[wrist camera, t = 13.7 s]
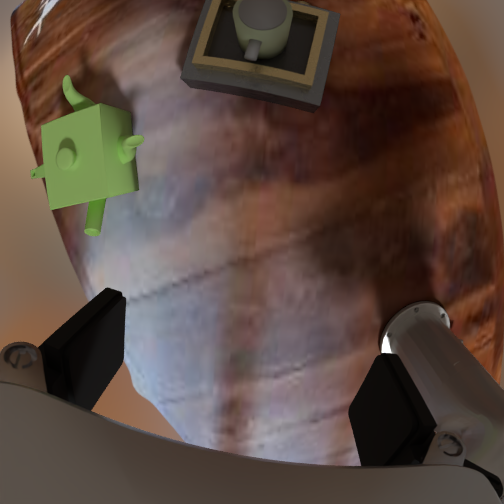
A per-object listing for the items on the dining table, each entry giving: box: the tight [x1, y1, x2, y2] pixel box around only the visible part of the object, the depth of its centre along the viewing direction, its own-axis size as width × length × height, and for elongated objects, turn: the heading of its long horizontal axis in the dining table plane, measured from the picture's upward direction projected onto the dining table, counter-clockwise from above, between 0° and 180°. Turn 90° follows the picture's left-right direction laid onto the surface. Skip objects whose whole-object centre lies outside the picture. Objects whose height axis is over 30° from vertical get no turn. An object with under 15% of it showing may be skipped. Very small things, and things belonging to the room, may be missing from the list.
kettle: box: [30, 75, 144, 236], centre depth 33 cm, size 15×14×11 cm
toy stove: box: [180, 0, 340, 113], centre depth 30 cm, size 16×14×7 cm
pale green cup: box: [233, 0, 293, 61], centre depth 25 cm, size 6×8×7 cm
